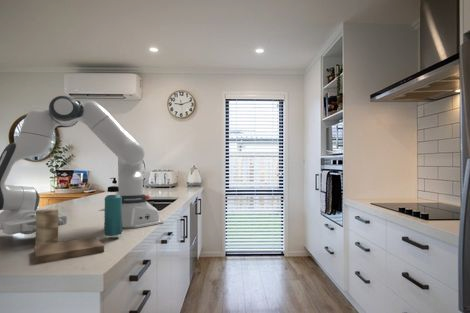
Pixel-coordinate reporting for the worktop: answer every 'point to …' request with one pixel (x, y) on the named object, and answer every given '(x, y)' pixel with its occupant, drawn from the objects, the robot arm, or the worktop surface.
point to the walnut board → (67, 249)
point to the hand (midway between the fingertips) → (48, 225)
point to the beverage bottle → (113, 213)
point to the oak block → (46, 226)
